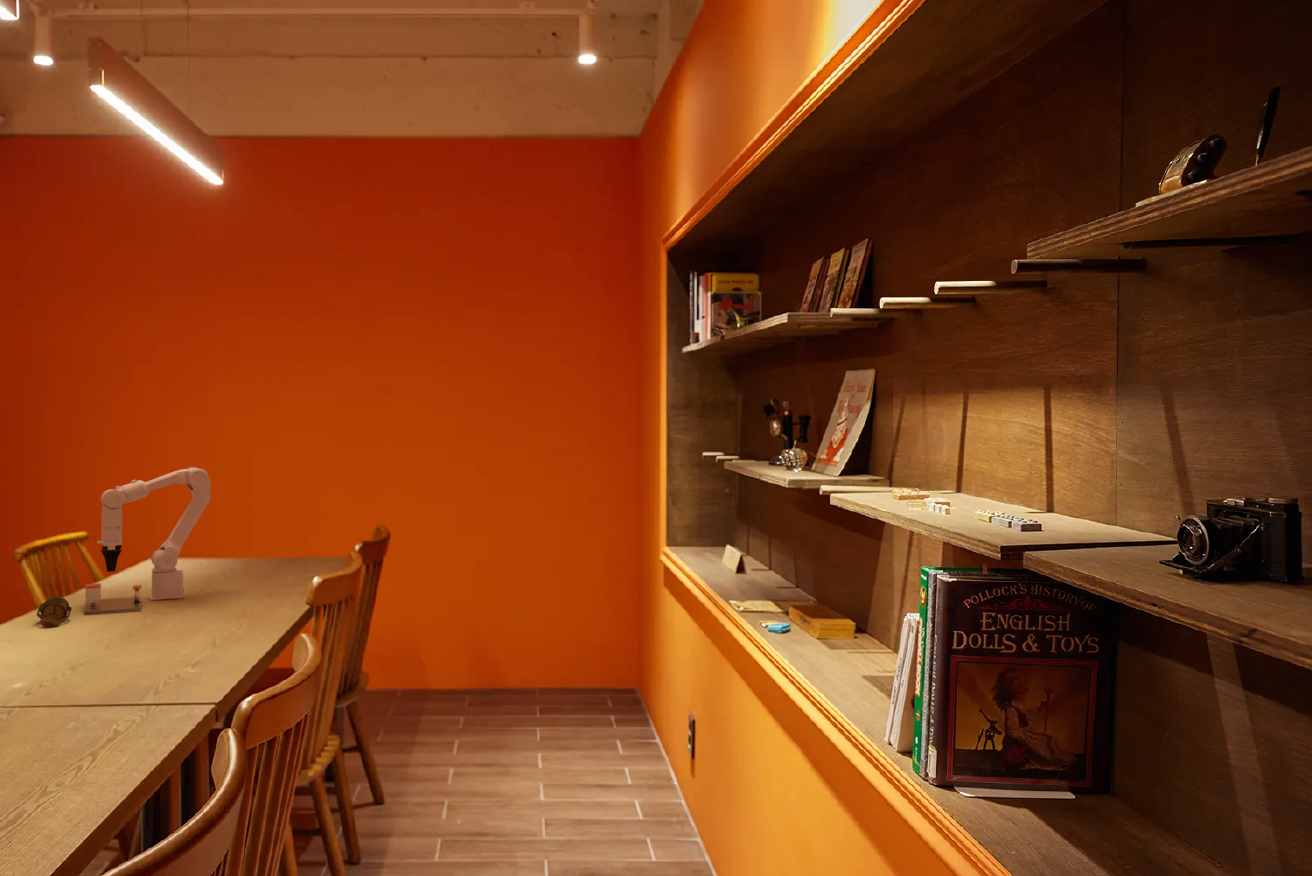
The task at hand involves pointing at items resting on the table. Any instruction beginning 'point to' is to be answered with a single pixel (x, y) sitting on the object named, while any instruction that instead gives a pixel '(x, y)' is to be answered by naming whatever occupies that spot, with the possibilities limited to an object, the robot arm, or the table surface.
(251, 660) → the table surface
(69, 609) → the dark brown rounded piece
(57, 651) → the table surface
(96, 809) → the table surface
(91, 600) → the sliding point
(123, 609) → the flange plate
